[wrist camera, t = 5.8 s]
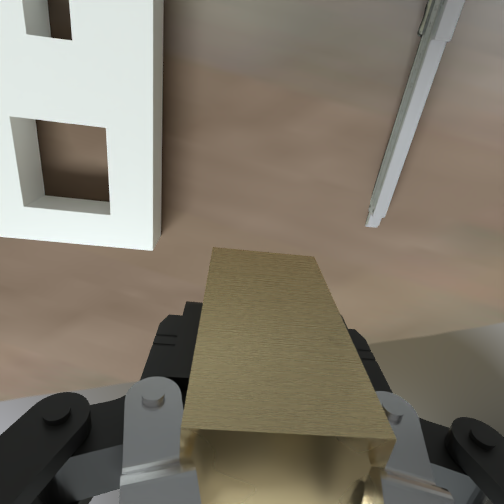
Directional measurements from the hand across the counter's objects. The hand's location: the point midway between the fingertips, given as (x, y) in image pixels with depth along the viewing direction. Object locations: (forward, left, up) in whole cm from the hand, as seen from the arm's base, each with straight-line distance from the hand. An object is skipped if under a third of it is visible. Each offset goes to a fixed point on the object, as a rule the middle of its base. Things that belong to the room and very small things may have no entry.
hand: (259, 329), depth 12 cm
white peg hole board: (+13, -6, -17) cm, 22 cm away
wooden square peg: (0, 0, -2) cm, 2 cm away
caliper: (-10, -9, -18) cm, 22 cm away
